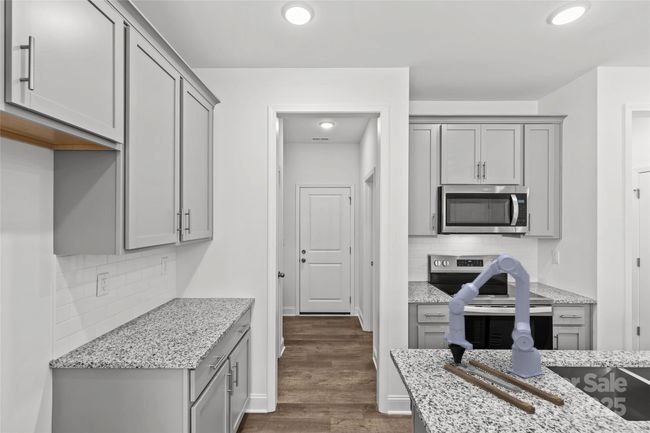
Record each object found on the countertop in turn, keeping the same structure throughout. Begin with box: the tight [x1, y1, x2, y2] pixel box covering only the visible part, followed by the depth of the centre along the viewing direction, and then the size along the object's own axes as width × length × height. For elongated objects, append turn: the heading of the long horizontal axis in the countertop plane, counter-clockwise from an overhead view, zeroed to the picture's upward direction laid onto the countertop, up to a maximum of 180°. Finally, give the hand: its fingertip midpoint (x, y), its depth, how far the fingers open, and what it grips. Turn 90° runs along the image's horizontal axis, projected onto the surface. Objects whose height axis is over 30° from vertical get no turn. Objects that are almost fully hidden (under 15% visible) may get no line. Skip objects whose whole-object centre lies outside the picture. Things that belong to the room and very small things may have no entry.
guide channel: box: [443, 359, 565, 415], centre depth 128 cm, size 14×38×2 cm, turn 21°
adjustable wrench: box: [457, 363, 521, 393], centre depth 132 cm, size 25×6×2 cm, turn 23°
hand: (457, 363), depth 146 cm, fingers closed
